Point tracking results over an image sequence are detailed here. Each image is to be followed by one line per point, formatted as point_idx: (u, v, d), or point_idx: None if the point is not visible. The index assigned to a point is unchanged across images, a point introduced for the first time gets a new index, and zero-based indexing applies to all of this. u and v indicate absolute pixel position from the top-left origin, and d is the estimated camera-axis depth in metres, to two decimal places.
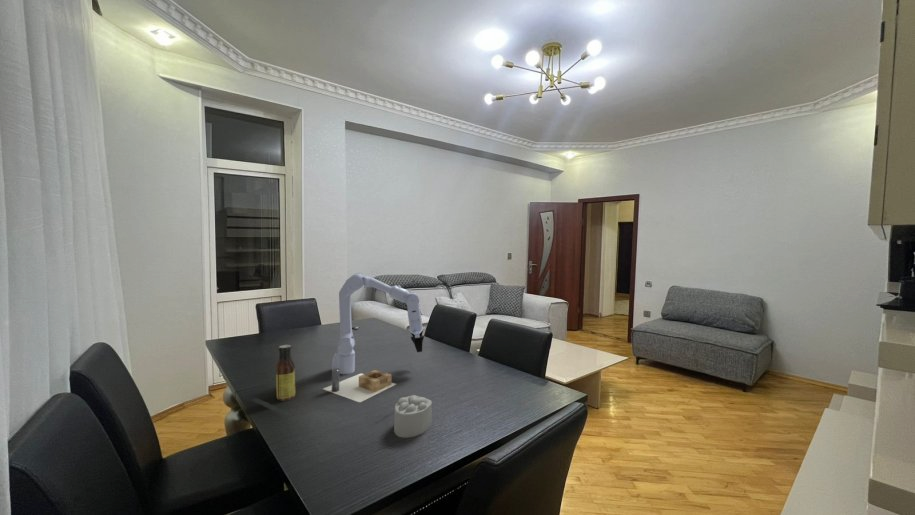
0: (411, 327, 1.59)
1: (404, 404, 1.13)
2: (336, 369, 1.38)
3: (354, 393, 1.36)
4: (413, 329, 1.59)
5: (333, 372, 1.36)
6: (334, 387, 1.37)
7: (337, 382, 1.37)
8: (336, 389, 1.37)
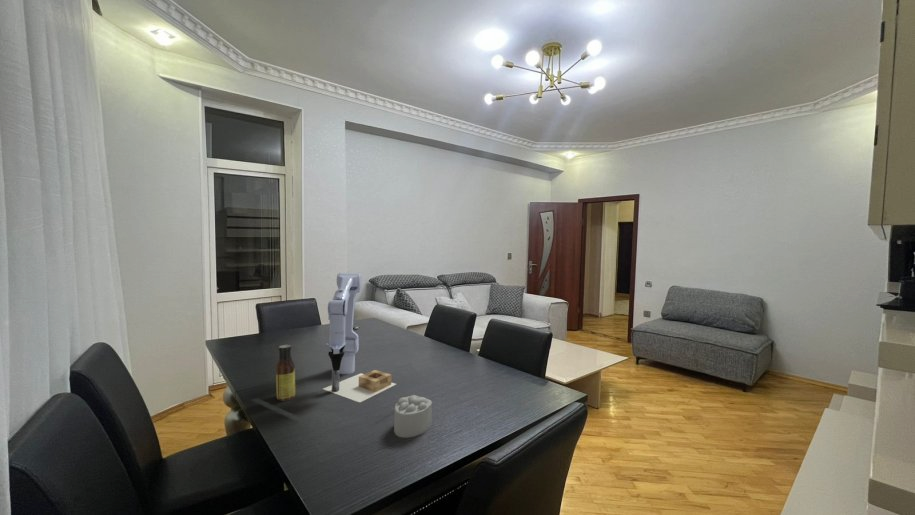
0: None
1: (404, 404, 1.13)
2: None
3: (354, 393, 1.36)
4: None
5: (333, 372, 1.36)
6: (334, 387, 1.37)
7: (337, 382, 1.37)
8: (336, 389, 1.37)
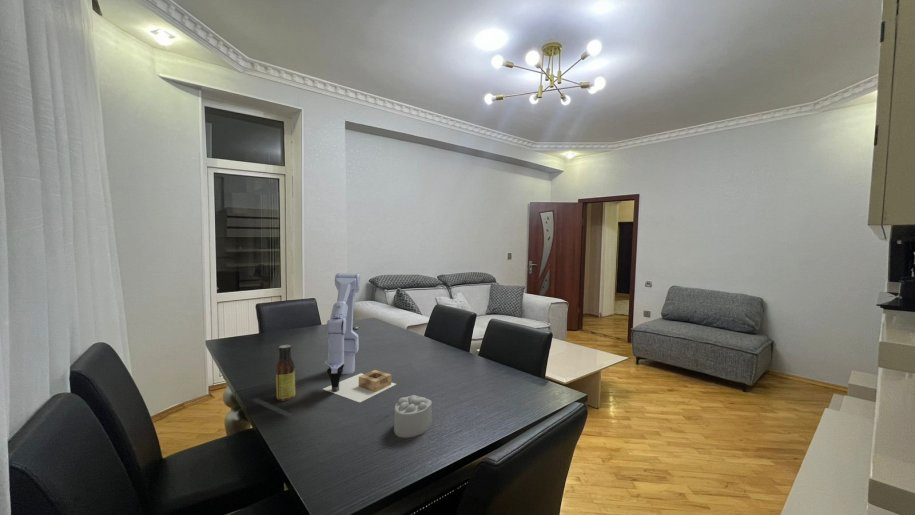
0: None
1: (404, 404, 1.13)
2: None
3: (354, 393, 1.36)
4: None
5: None
6: (334, 387, 1.37)
7: None
8: (336, 389, 1.37)
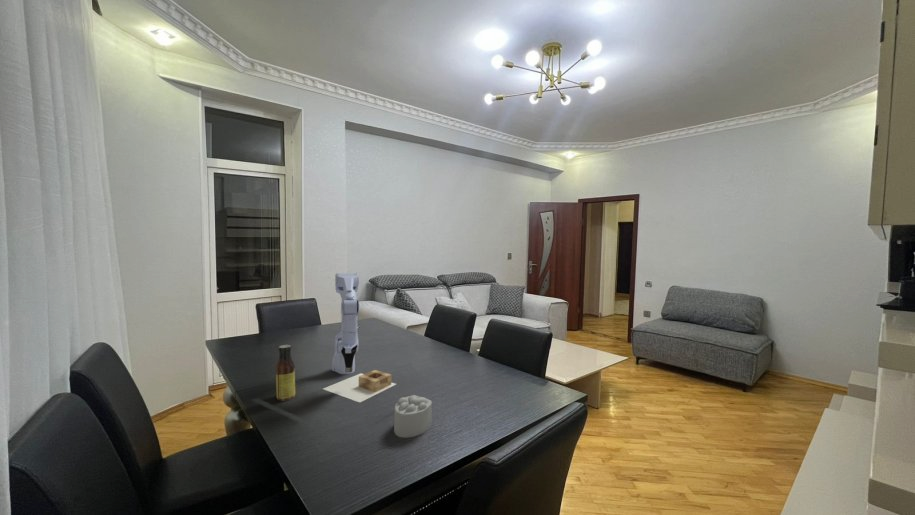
0: None
1: (404, 404, 1.13)
2: None
3: (354, 393, 1.36)
4: None
5: None
6: None
7: None
8: (349, 370, 1.38)
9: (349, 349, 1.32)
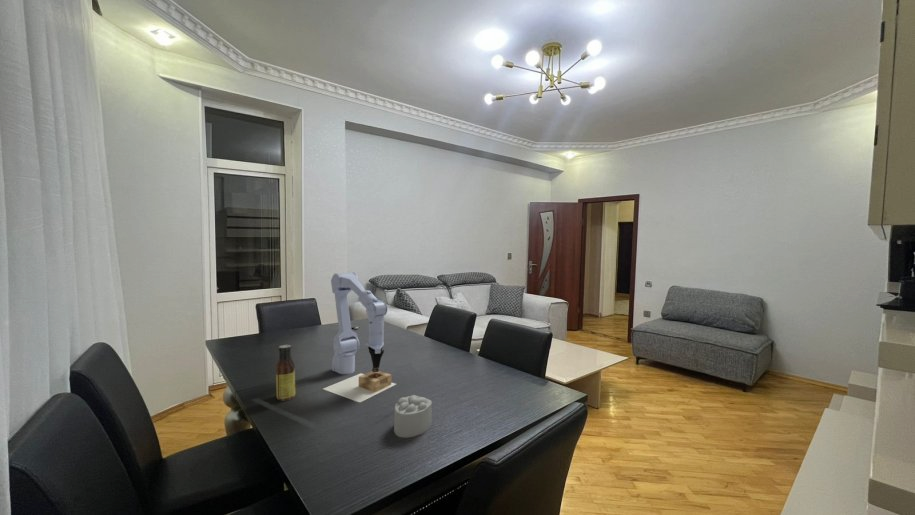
0: None
1: (404, 404, 1.13)
2: None
3: (354, 393, 1.36)
4: None
5: None
6: None
7: None
8: (377, 369, 1.42)
9: (379, 349, 1.36)
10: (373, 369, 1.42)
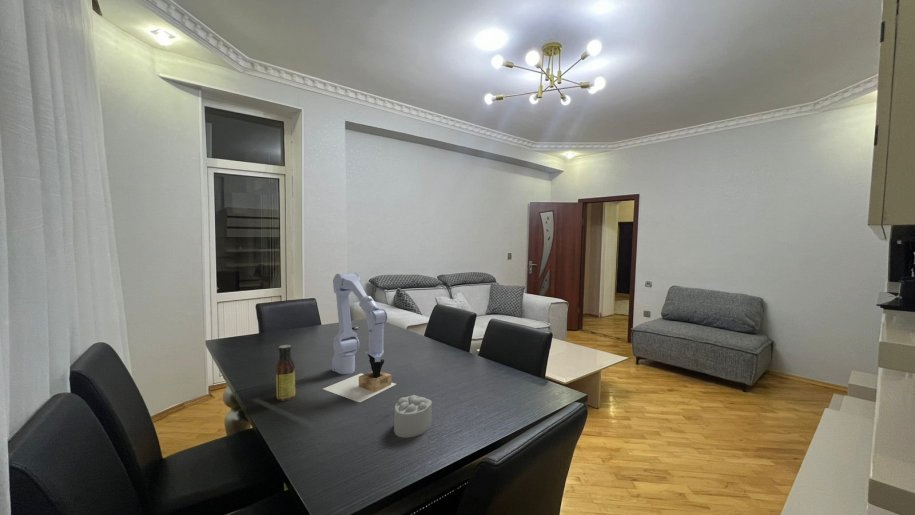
0: None
1: (404, 404, 1.13)
2: None
3: (354, 393, 1.36)
4: None
5: None
6: None
7: None
8: None
9: (378, 358, 1.36)
10: None
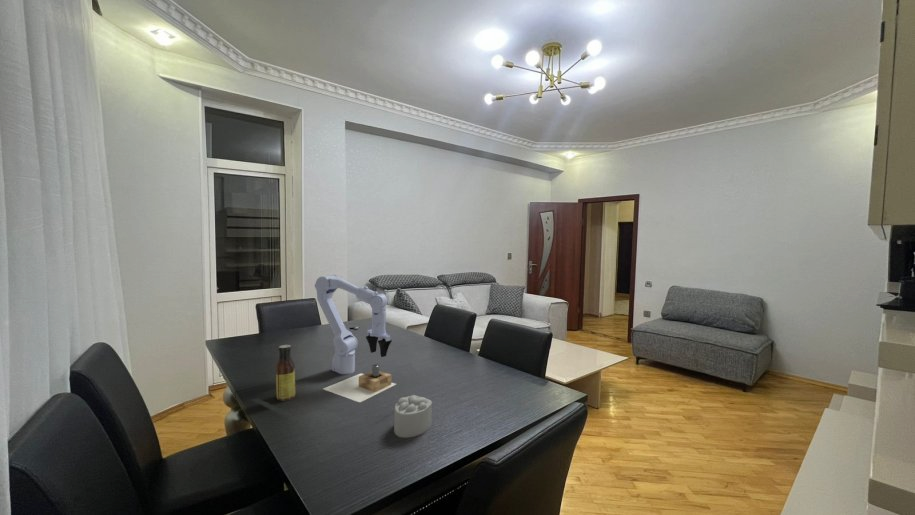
0: None
1: (404, 404, 1.13)
2: (376, 365, 1.43)
3: (354, 393, 1.36)
4: None
5: (374, 368, 1.42)
6: None
7: (377, 377, 1.43)
8: None
9: (389, 337, 1.49)
10: None
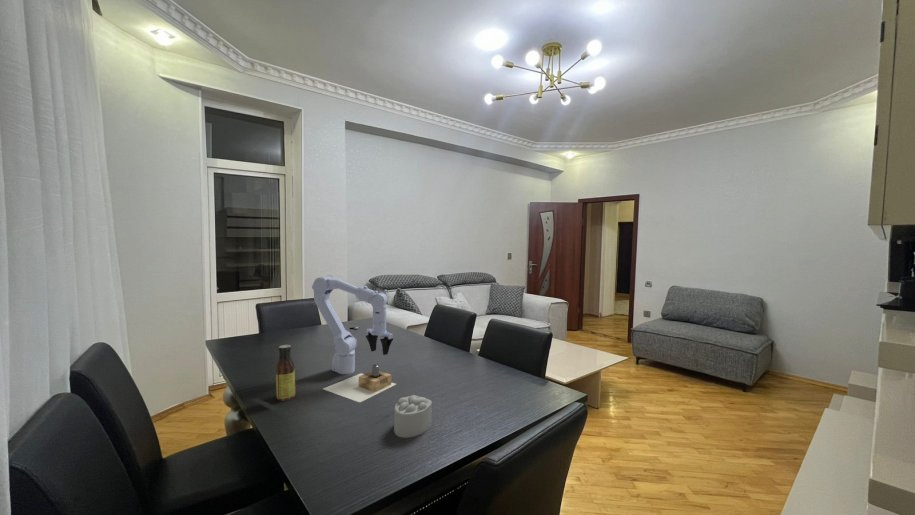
0: None
1: (404, 404, 1.13)
2: (376, 365, 1.43)
3: (354, 393, 1.36)
4: None
5: (374, 368, 1.42)
6: None
7: (377, 377, 1.43)
8: None
9: (391, 335, 1.52)
10: None
